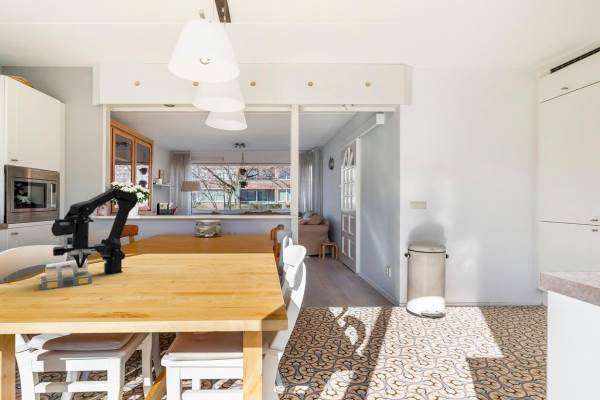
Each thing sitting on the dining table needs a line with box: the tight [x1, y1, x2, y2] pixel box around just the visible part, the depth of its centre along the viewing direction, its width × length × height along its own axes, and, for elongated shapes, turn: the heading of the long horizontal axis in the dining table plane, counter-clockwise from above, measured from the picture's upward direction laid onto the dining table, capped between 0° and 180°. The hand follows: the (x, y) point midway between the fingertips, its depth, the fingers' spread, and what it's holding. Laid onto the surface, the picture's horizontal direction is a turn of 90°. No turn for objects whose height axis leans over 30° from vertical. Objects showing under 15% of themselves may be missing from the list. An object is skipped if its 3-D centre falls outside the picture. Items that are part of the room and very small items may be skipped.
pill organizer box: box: [40, 270, 93, 291], centre depth 136 cm, size 16×12×3 cm
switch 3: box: [75, 267, 89, 272], centre depth 139 cm, size 4×9×1 cm, turn 39°
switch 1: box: [44, 266, 58, 280], centre depth 133 cm, size 4×9×1 cm, turn 39°
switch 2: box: [60, 265, 73, 278], centre depth 136 cm, size 4×9×1 cm, turn 39°
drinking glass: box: [45, 258, 89, 274], centre depth 151 cm, size 7×7×15 cm
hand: (79, 269), depth 143 cm, fingers closed, pressing on switch 3
